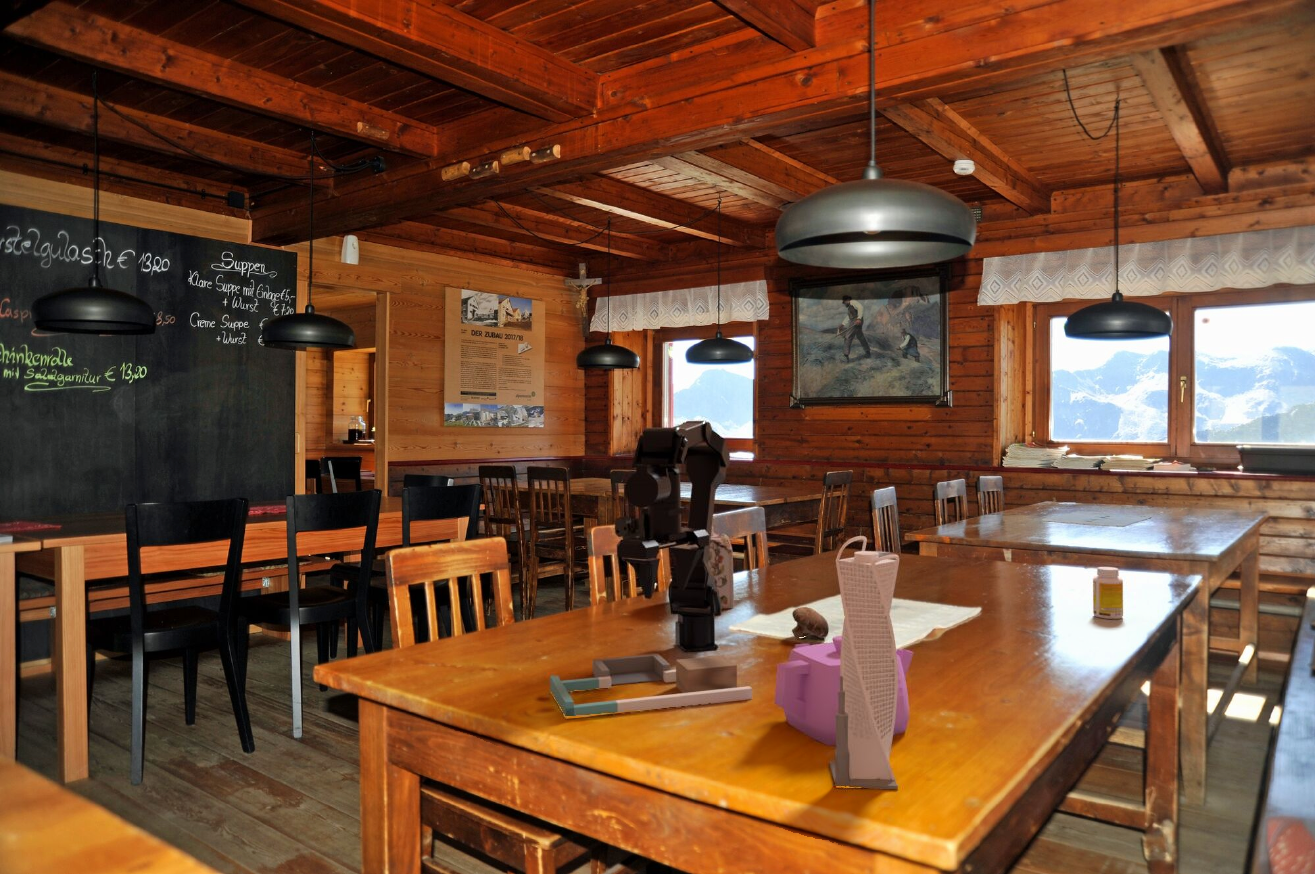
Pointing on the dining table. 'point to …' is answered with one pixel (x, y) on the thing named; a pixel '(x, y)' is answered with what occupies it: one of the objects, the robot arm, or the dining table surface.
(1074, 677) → the dining table surface
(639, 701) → the walled track with bay
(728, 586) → the decorative jar
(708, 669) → the block
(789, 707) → the teakettle
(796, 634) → the mushroom
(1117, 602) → the supplement bottle
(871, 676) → the skyscraper
